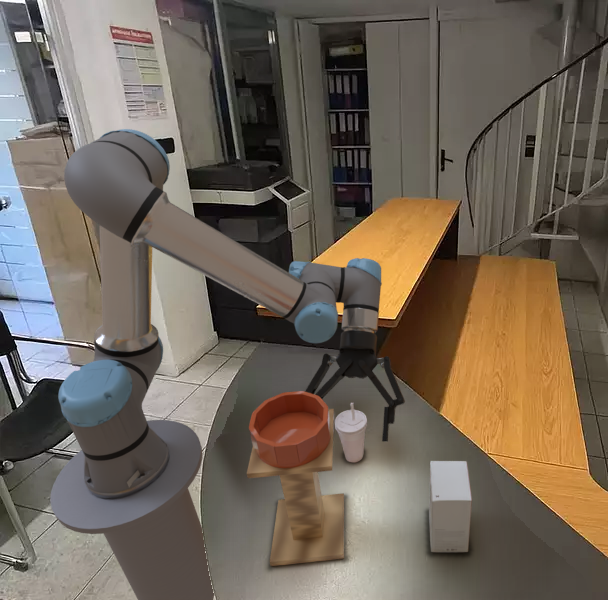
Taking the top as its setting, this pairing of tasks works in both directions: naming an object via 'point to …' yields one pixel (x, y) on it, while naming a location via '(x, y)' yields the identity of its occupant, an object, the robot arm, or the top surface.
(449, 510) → the small box
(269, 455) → the bowl
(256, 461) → the pedestal
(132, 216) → the robot arm
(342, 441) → the smoothie
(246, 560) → the top surface
